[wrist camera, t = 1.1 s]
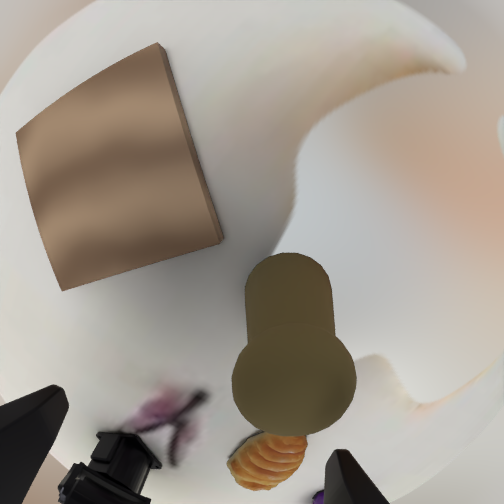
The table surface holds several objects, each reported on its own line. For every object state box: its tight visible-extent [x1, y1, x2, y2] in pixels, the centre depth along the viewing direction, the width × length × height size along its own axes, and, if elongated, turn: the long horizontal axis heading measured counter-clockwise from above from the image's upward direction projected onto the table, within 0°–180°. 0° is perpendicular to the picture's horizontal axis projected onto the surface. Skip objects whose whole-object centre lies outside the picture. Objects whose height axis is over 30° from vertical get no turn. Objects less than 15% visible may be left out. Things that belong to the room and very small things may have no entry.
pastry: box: [227, 432, 308, 491], centre depth 24 cm, size 9×7×4 cm
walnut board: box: [16, 42, 224, 291], centre depth 18 cm, size 14×14×2 cm
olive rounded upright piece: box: [232, 253, 357, 436], centre depth 15 cm, size 6×6×11 cm
